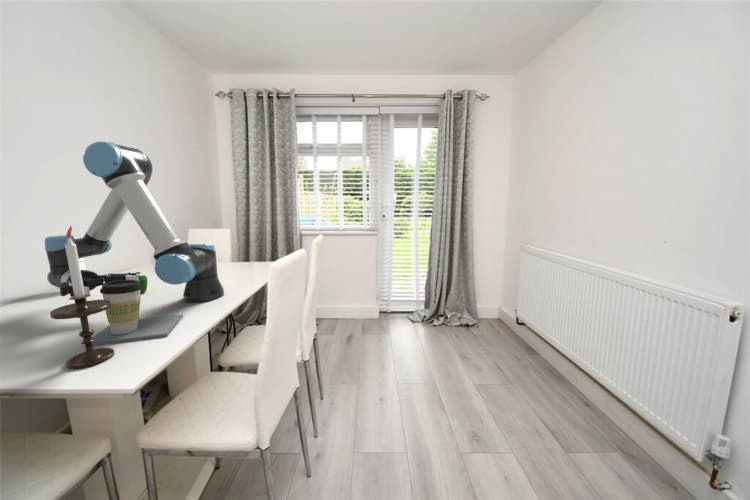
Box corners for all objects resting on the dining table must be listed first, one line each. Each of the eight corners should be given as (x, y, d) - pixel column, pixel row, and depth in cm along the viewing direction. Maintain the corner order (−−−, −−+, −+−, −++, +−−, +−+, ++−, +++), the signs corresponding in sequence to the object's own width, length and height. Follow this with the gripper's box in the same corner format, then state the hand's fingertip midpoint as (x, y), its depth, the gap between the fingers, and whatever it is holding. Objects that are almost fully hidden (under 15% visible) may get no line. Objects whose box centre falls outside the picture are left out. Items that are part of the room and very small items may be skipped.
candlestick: (128, 347, 83) (108, 223, 77) (97, 369, 72) (71, 227, 66) (85, 350, 81) (62, 224, 76) (47, 373, 71) (17, 228, 65)
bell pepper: (119, 296, 129) (116, 273, 127) (138, 290, 137) (135, 269, 135) (134, 297, 127) (131, 274, 125) (153, 291, 135) (150, 270, 133)
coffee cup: (119, 339, 85) (116, 289, 83) (94, 334, 88) (90, 285, 85) (152, 326, 95) (150, 281, 93) (128, 322, 97) (126, 278, 95)
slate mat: (183, 317, 105) (182, 314, 104) (167, 336, 90) (166, 333, 89) (114, 324, 98) (114, 321, 98) (85, 346, 83) (84, 343, 83)
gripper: (123, 281, 117) (156, 286, 108) (32, 301, 94) (65, 309, 86) (120, 262, 115) (153, 266, 107) (27, 278, 93) (60, 284, 84)
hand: (114, 285), depth 96 cm, fingers open, 13 cm apart
